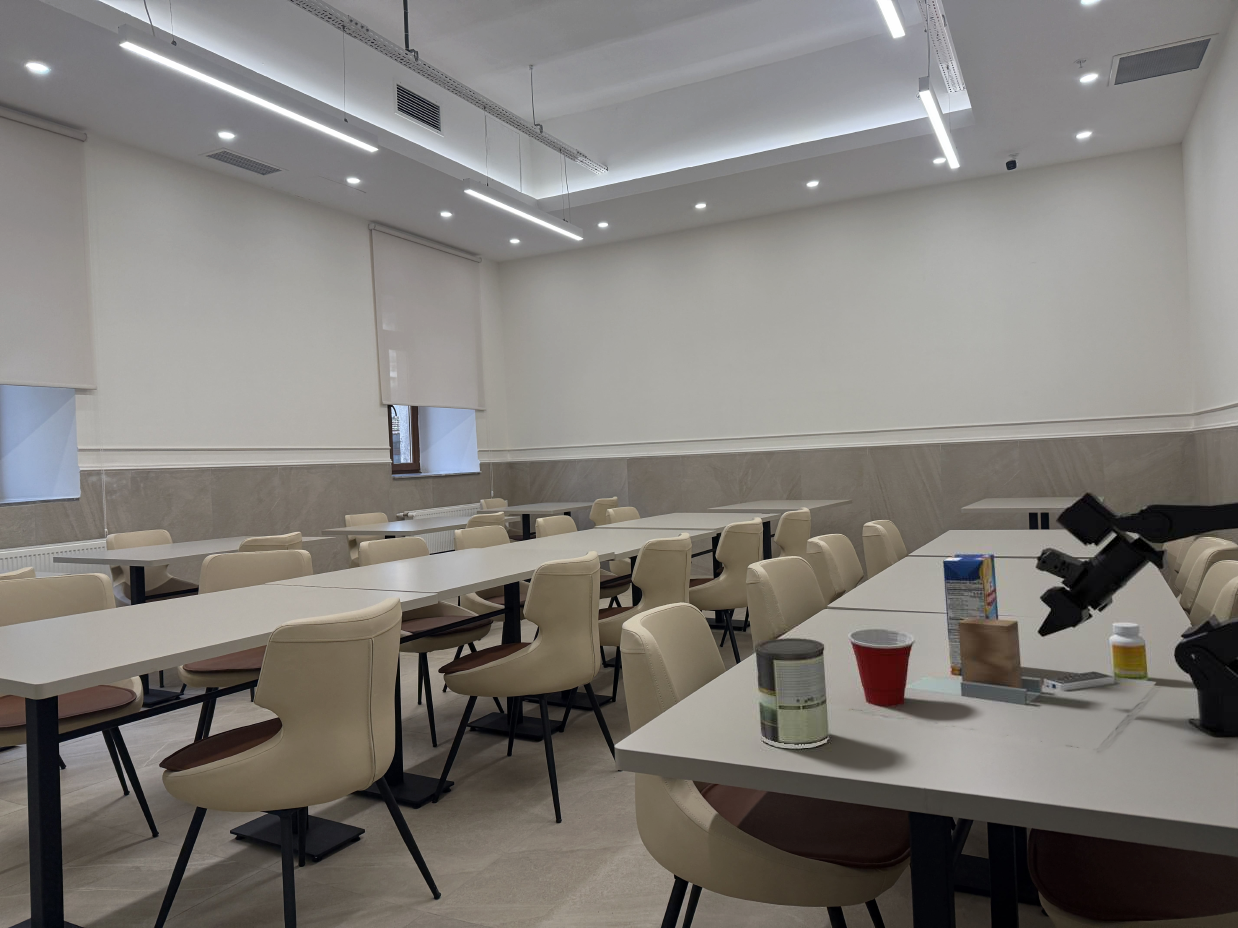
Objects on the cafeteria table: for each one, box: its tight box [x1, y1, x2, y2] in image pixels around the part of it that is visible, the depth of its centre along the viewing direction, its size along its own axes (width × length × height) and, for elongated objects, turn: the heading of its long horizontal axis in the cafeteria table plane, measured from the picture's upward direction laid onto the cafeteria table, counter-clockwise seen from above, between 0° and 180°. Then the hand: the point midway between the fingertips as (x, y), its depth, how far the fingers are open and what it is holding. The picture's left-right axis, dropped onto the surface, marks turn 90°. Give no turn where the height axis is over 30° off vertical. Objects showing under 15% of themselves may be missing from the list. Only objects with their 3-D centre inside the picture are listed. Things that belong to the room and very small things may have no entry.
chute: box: [905, 675, 1043, 706], centre depth 137 cm, size 20×9×3 cm, turn 46°
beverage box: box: [942, 553, 999, 677], centre depth 150 cm, size 7×11×22 cm, turn 145°
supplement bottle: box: [1108, 621, 1149, 682], centre depth 141 cm, size 5×5×10 cm
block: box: [958, 617, 1022, 689], centre depth 135 cm, size 8×5×12 cm, turn 46°
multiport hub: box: [1043, 671, 1115, 692], centre depth 137 cm, size 4×11×2 cm, turn 104°
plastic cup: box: [847, 628, 916, 707], centre depth 134 cm, size 11×11×12 cm
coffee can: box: [754, 637, 830, 745], centre depth 120 cm, size 10×10×14 cm
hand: (1040, 634), depth 129 cm, fingers closed
